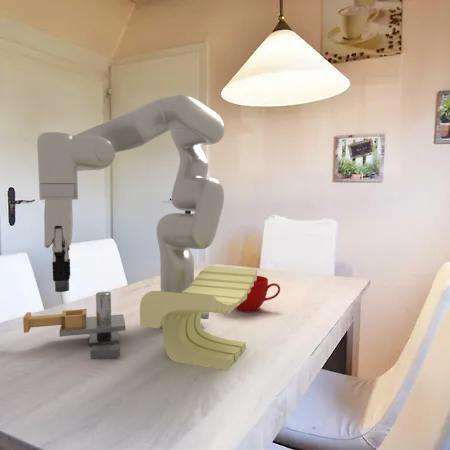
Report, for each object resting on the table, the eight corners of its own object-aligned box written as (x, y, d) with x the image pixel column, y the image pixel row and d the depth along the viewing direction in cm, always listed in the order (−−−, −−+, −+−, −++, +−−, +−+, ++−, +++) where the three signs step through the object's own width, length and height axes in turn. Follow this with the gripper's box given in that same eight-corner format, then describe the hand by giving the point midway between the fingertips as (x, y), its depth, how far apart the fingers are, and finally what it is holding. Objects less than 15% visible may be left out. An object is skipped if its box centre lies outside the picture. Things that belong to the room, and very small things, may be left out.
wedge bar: (120, 355, 92) (120, 345, 92) (117, 360, 89) (117, 349, 89) (94, 355, 92) (93, 345, 92) (90, 360, 89) (90, 349, 89)
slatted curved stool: (200, 329, 109) (200, 265, 108) (256, 336, 104) (256, 269, 103) (140, 375, 81) (139, 289, 80) (212, 388, 76) (213, 296, 75)
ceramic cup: (278, 317, 121) (279, 284, 120) (224, 313, 124) (224, 282, 124) (281, 305, 134) (281, 276, 133) (231, 302, 137) (231, 274, 136)
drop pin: (73, 288, 87) (72, 246, 86) (65, 292, 84) (64, 248, 83) (58, 288, 87) (57, 245, 87) (50, 292, 84) (49, 247, 83)
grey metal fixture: (123, 331, 107) (122, 287, 106) (125, 344, 98) (125, 296, 97) (63, 337, 103) (62, 291, 102) (59, 351, 93) (58, 301, 92)
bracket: (86, 321, 102) (86, 307, 102) (86, 328, 97) (85, 313, 97) (27, 326, 98) (26, 311, 98) (23, 333, 93) (22, 318, 92)
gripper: (43, 192, 90) (46, 272, 92) (34, 192, 75) (38, 288, 76) (78, 192, 93) (81, 270, 94) (76, 192, 77) (79, 285, 79)
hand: (61, 278), depth 85 cm, fingers closed on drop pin, 2 cm apart
